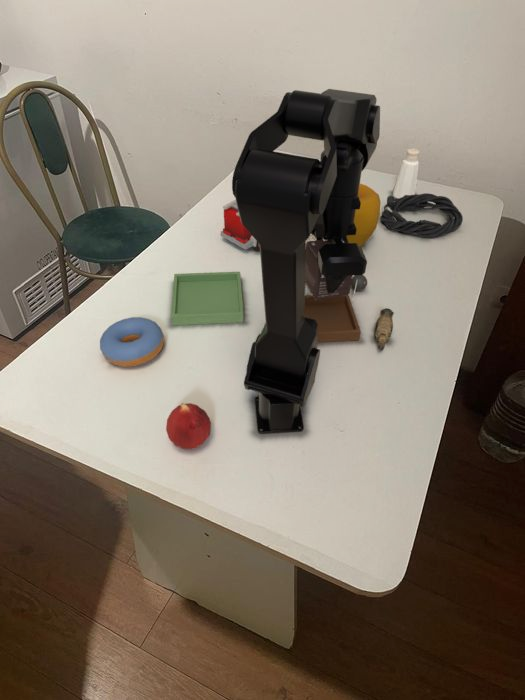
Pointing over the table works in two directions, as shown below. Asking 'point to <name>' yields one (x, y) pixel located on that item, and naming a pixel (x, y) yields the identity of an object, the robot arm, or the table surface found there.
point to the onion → (188, 426)
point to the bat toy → (359, 282)
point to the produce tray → (207, 298)
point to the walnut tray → (333, 318)
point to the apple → (365, 215)
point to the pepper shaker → (407, 175)
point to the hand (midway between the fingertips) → (326, 279)
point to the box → (314, 276)
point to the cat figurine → (384, 327)
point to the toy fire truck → (237, 228)
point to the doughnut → (143, 338)
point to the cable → (420, 203)
